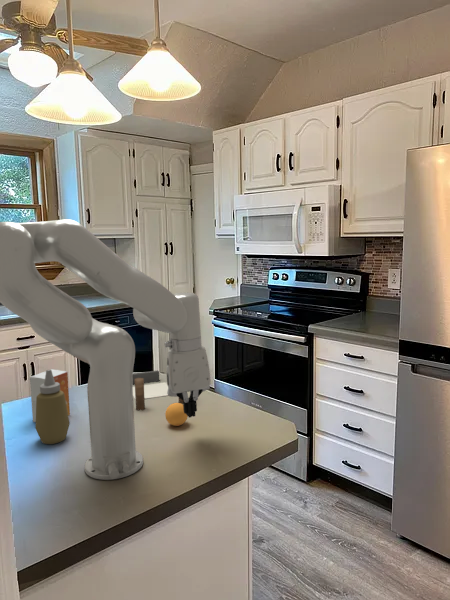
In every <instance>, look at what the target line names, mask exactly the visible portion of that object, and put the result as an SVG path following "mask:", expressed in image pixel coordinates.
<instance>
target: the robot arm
mask: <svg viewBox="0 0 450 600" xmlns="http://www.w3.org/2000/svg"><path fill="white" fill-rule="evenodd" d="M49 262H58V263H60V264H61V265H63V266H64V267H65V268H66V269H68V270H69V271H71V272H72V273H73V274H74V275H76V276H77V277H78V278H79V279H81V280H82V281H84V282H85V283H86V284H87V285H88V286H90V287H91V288H93V289H94V290H95V291H96V292H98V293H100V294H101V295H103V296H105V297H107V298H109V299H112V300H115V301H117V302H120V303H122V304H125V305H127V306H128V307H131V308H132V314H133V318H134V320H135V322H136V323H137V324H139V326H142V327H143V328H146V329H150V330H153V331H155V330H156V331H158V332H162V333H166V334H169V338H168V341H164V345H163V346H164V348H165V349H166V348H168V350H167V351H168V353H167V358H166V359H167V361H166V383H167V385H168V392H167V394H168V395H169V396H168V397H170V398H171V397H174V398H178V399H179V398H180V399H182V400H183V409H184V413H185V414H187V416H188V417H187V418H192V417H196V412H197V411H198V408H197V401H199V397H200V395H201V394H202V393H203V392H205V391H208V390H210V388H211V372H210V366H209V365H210V364H209V359H208V353H207V350H206V348H205V347H204V346H202V333H201V332H202V331H201V318H200V317H201V315H200V298H199V296H198V295H197V293H194V292H176V293H173V292H172V291H170V290H169V289H168V288H167V287H165V286H164V285H163V284H162V283H160V282H158V281H157V280H156V279H154V278H152V277H151V276H149V275H147V274H146V273H144V272H142V271H141V270H140V269H138V268H136V267H135V266H133V265H132V264H129V263H128V262H127V261H126V260H124V259H123V258H121V257H120V256H119V255H118V254H117V253H115V252H114V251H113V250H112V249H111V248H110V247H109V246H107V245H106V244H105V243H104V242H102V240H100V239H99V238H98V237H97V236H96V235H95V234H93V232H91V231H90V230H89V229H88V228H86V227H85V226H84V225H82V224H81V223H79V222H78V221H76V220H73V219H68V218H65V219H56V220H55V219H54V220H47V221H46V220H45V221H44V220H43V221H33V222H13V221H0V304H2V306H4V307H5V308H7V310H9V311H10V312H12V313H13V314H15V315H17V316H18V317H19V318H20V319H22V320H24V321H26V322H27V323H28V324H29V325H30V328H31V329H32V330H33V332H34V333H36V334H37V335H38V336H39V337H40V338H42V339H44V340H45V341H47V342H49V343H50V344H52V345H54V346H55V347H57V348H59V349H61V350H62V351H64V352H66V353H67V354H69V355H71V356H72V357H74V358H76V359H78V360H80V361H82V362H84V363H85V364H88V365H89V367H90V368H89V373H88V381H87V391H86V392H87V404H88V406H87V407H88V421H89V423H88V424H89V439H90V452H91V453H90V454H91V456H90V457H89V458H88V459H87V460H86V461H85V463H84V472H85V473H86V475H87V476H89V477H91V478H93V479H96V480H100V481H101V480H103V481H104V480H105V481H110V480H118V479H123V478H126V477H128V476H132V475H134V474H135V473H136V472H138V471H139V470H140V469H141V468H142V467H143V465H144V455H143V454H142V453H141V452H139V451H138V450H136V449H137V448H136V429H135V409H134V406H135V404H134V397H133V387H134V385H133V373H134V366H135V365H134V364H135V358H136V345H135V342H134V339H133V338H132V336H131V335H130V334H129V333H128V331H126V330H125V329H123V328H121V327H119V326H117V325H113V324H109V323H107V322H102V321H98V320H97V319H95V318H93V316H92V314H91V312H90V310H89V309H88V308H87V307H86V305H84V304H83V303H82V302H80V301H79V300H78V299H76V298H74V297H72V296H71V295H69V294H67V292H65V291H63V290H62V289H60V288H58V287H57V286H56V285H54V284H53V283H52V282H50V281H49V280H48V279H46V277H44V276H43V275H42V274H41V273H40V272H39V271H38V269H37V265H36V264H41V263H49ZM188 392H189V395H188Z"/></svg>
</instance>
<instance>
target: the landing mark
mask: <svg viewBox="0 0 450 600" xmlns="http://www.w3.org/2000/svg"><path fill="white" fill-rule="evenodd" d="M167 392H168V385H167V381H165V382H164V381H163V382H156V383H151V384H150V383H149V384H144V399H145V400H146V399H147V400H148V399H155V398H162V397H166V396H167V397H170V396H169V395H168V394H167ZM133 400H135V401H136V399H135V386H133Z"/></svg>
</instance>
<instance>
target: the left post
mask: <svg viewBox="0 0 450 600" xmlns="http://www.w3.org/2000/svg"><path fill="white" fill-rule="evenodd" d="M144 385H145V383H144V379H143V378H136V379H135V385H134V387H135V399H136V400H135V399H134V400H135V410H136V411H143V410H145V407H146V405H145V400H146V399H144Z"/></svg>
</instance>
